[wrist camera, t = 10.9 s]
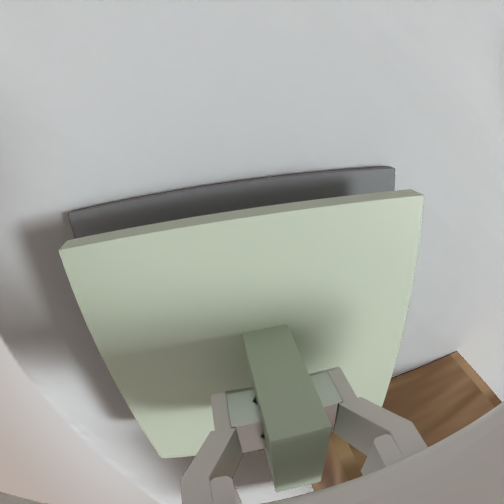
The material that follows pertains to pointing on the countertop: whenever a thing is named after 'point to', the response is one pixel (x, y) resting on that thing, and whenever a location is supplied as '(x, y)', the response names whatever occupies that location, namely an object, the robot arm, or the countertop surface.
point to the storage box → (419, 411)
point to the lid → (251, 315)
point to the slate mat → (229, 198)
